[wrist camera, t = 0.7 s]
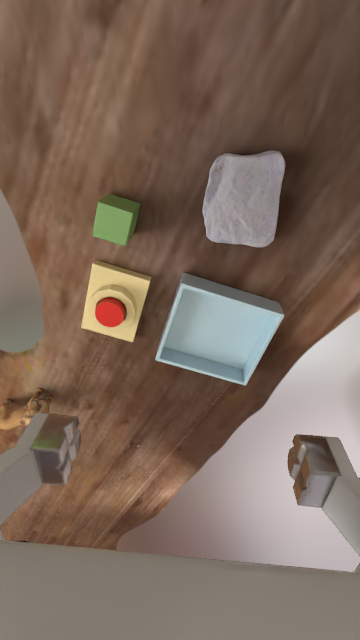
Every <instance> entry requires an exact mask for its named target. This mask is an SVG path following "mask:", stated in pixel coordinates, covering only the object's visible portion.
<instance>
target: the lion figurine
mask: <svg viewBox="0 0 360 640" xmlns="http://www.w3.org/2000/svg"><path fill="white" fill-rule="evenodd" d="M42 392H43V390H42V389H40V388H37V390H36V392H35V394H34V396H33V397H32V398H31V399H30V401H29V402H28V404H27V405H25V406H23V407H22V408H19V409H17V410H16V411H15V412H13V413H11V412H10V410H9V408H8V407H7V405H8V404H10V403H11V401H10V400H9V399H6V400H5V401H4V403H3V405H2V406H1V408H0V409H1V413H0V428H2V429H5V430H10V429H13V428H14V427H17V426H20V425H24V426H28V424H29V423H30V421H31V419H32V417H33V416H34V415H35V414H36V413H47V414H49V406H48V402H51V401H52V399H53V398H52V397H51V396H48V397H46V399H45V400H42V399H39V400H37V398H38V397H39V396H40V395H41V393H42Z"/></svg>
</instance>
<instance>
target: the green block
mask: <svg viewBox="0 0 360 640" xmlns="http://www.w3.org/2000/svg"><path fill="white" fill-rule="evenodd" d="M140 206H141V204H140V203H137V202H134V201H131V200H128V199H125V198H122V197H119V196H116V195H113V194H109V195H107V196H106V197H104V198H103V199H102V200H100V201H99V202H98V205H97V211H96V217H95V223H94V229H93V235H92V236H94V237H97V238H101V239H104V240H107V241H110V242H113V243H116V244H120V245H123V246H126V245H127V243H128V242H129V240H130V239H131V237H132V236H133V234H134V231H135V227H136V223H137V218H138V214H139V210H140Z"/></svg>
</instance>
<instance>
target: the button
mask: <svg viewBox="0 0 360 640" xmlns="http://www.w3.org/2000/svg"><path fill="white" fill-rule="evenodd" d="M125 314H126V309H125V306H124V304H123V303H122V302H121V301H120V300H118V299H116V298H112V297H108V298H104V299H103V300H101V301H100V303H99V304H98V306H97V308H96V310H95V316H96V319H97V320H98V322H99V323H100V324H102V325H104V326H106V327H116V326H118V325H120V324H121V323H122V321H123V319H124V316H125Z"/></svg>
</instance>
